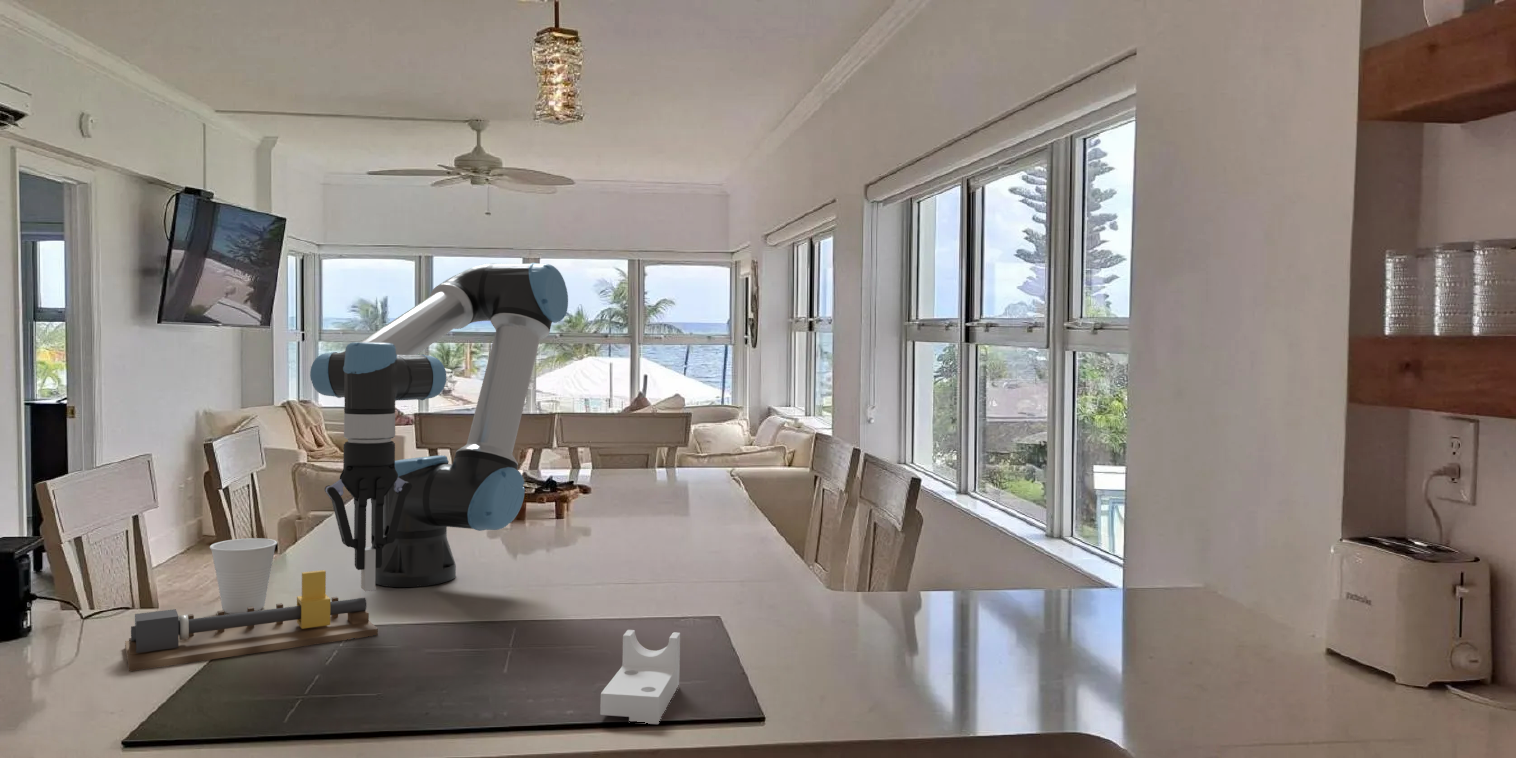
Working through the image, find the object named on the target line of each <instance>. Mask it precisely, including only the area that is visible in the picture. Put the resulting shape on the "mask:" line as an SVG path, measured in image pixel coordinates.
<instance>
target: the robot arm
mask: <svg viewBox="0 0 1516 758" xmlns="http://www.w3.org/2000/svg"><path fill="white" fill-rule="evenodd" d="M567 288H568V287H567V285H566V282H565V279H564V277H563V275H562V273H561V272H560V271H559V269H558V268H557V267H555V266H554V265H552V264H549V263H537V262H530V263H485V264H484V263H483V264H479V265H476V266H474V267H471V268H468V269H465V270H463V271H462V272H459V273H457V274H455V275H453V276H452V277H449V278H447V279H446V280H444V281H443V282H441V283H439V284H438V285H436V286H435V287H434V288H433V289H432V290H431V292H430V295H429V297H427V298H426V299H424V300H423V301H422V302H420V303H418V304H416V305H415V306H413V307H412V308H411V309H409V310H407V311H405V312H404V313H403V314H401V315H400V316H398V317H396V318H395V319H393V320H391V321H390V322H389V323H386V324H385V325H384V326H382V327H381V328H379V329H378V330H376V331H375V332H372V333H371V334H370V335H368V336H367V337H365V338H363V339H362V340H360V341H354V342H353V341H351V342H350V343H348V344H347V345H346V347H345V350H344V351H343V352H338V351H331V352H328V353H327V352H324V353H321V354H319V355H318V356H317V357H316V358H315V359H314V360H313V361H312V365H311V366H310V371H309V372H310V373H309V378H310V381H311V384H312V386H313V388H314V390H316V392H317V393H318V394H320V395H322V396H325V397H326V396H327V397H333V398H334V397H335V398H338V399H341V398H344V408H343V411H344V412H343V413H344V414H343V415H344V417H343V437H344V439H347V441H345V442H344V444H343V465H342V466H343V468H342V471H341V473H340V475H339V479H338V480H337V481H335V482H333V484H331V485H326V486H325V487H324V492H325V493H326V495H327V496H328V498H329V499H330V501H331V503H332V508H333V511H334V515H335V519H336V523H337V527H338V530H339V531H338V532H339V534H340V539H341V543H342V544H343V545H344V546H346V547H347V548H353V550H354V568H355V569H356V570H357V571H360V572H361V573H360V575H361V577H360V578H361V579H360V588H361V589H362V591H364V592H372V591H373V592H374V591H376V585H378V586H382V587H392V588H394V587H395V588H412V587H413V588H416V587H417V588H418V587H427V586H432V585H438V584H443V583H446V582H449V581H451V580H452V581H453V579H454V578H456V577H457V574H456V573H457V571H456V570H457V569H456V568H457V564H456V561H455V559H454V556H453V552H452V549H451V545H450V543H449V540H448V536H447V535H448V534H447V533H448V532H447V531H448V529H447V528H448V527H450V528H457V529H467V530H468V529H469V530H475V531H478V532H479V531H481V532H483V531H498V530H501V529H504V528H506V527H508V525H509V524H511V523H512V522H514V520H515V518H516V517H517V516H518V514H519V512H520V510H521V508H522V506H523V502H524V498H525V492H526V491H525V490H526V488H525V487H524V486H525V479H524V476H523V475H522V473H521V471H519V470H518V467H519V462H518V461H517V460H516V458H515V456H514V455H513V454H514V452H513V451H514V449H515V444H516V440H517V437H518V436H517V435H518V432H519V427H520V423H521V419H522V415H523V411H524V408H525V407H524V406H525V402H526V398H527V395H528V390H529V386H530V383H531V382H530V381H531V377H532V373H533V369H534V365H535V360H536V356H537V352H538V349H539V344H540V342H541V341H542V340H544V339H545V338H547V337H548V336H549V335H550V331H551V326H552V323H555V324H556V323H559V322H561V321H563V319H564V318H565V317H566V315H567V312H568V309H569V308H568V306H569V295H568V289H567ZM476 322H490V324H491V325H492V327H493V328H494V329H495V332H494V337H493V341H492V345H491V349H490V353H489V357H488V359H487V363H486V364H487V365H486V368H485V372H484V375H483V379H482V383H481V387H480V392H479V396H478V399H477V403H476V406H475V411H474V415H473V419H472V422H471V426H470V429H469V430H470V431H469V434H468V438H467V442H466V444H465V445H463V446H462V447H460V448H459V449H457V450H456V451H455V455H454V459H453V463H451V464H449V460H448V457H447V456H446V455H442V454H441V455H432V456H431V455H430V456H422V457H412V458H404V459H398V460H396V443H395V441H393V440H392V439H393V438H395V437H396V402H397V401H414V400H415V401H417V400H418V401H419V400H420V401H425V400H426V399H433V398H435V397H437V396H439V395H440V394H441V393H442V391H444V388H445V387H446V383H447V371H446V368H445V365H444V364H443V362H442V361H441V360H440V359H439V358H437V357H435V356H432V355H425V354H420V353H421V352H422V351H425V350H426V349H427V348H428V347H430V346H431V345H432V344H434V343H436V342H437V341H438V340H440V339H441V338H442V337H444V336H445V335H447V334H449V332H451V331H452V330H459V329H460V330H461V329H463V328H466V327H467V326H468V325H469V324H473V323H476ZM344 488H345V489H346V491H347V492H348V493H349V494H350V495H351V497H352V498H353V506H354V512H353V513H354V521H353V522H354V524H353V527H354V529H353V534H352V530H351V527H350V522H349V518H348V515H347V509H346V507H345V503H344V499H343V497H342V496H343V495H344V494H345V493H344ZM368 500H370V503H371V514H370V515H371V516H370V517H371V522H370V523H371V524H370V525H371V529H370V531H371V534H370V535H371V536H370V538H371V539H370V541H371V542H370V543H371V545H370V546H367V506H368Z"/></svg>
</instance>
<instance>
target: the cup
mask: <svg viewBox="0 0 1516 758" xmlns="http://www.w3.org/2000/svg"><path fill="white" fill-rule="evenodd" d="M277 545H278V542H277V541H276V540H275V539H271V538H263V537H261V538H260V537H259V538H257V537H251V538H249V537H248V538H237V539H228V540H223V541H218V542H214V543H212V544H211V545H210V546H209V549H210V550H211V553H212V560H213V565H214V569H215V576H216V580H217V585H218V586H217V587H218V592H219V597H220V598H219V599H220V604H221V609H222V610H224V613H225V614H228V615H229V614H237V613H245V612H247V607H254V611H261V610H263V608H264V607H265V603H266V598H267V591H268V589H269V588H268V586H269V581H270V577H271V571H272V570H271V569H272V564H273V561H274V555H275V550H276V546H277ZM222 610H221V611H222Z"/></svg>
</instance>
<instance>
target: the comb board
mask: <svg viewBox="0 0 1516 758" xmlns="http://www.w3.org/2000/svg"><path fill="white" fill-rule="evenodd" d="M334 601H339V597H338V596H332V597H331V602H334ZM275 605H276V608H275V609H277V608H284V604H283V603H282V602H280V603H276V604H275ZM253 611H254V607H247V612H253ZM369 614H370V613H369V611H368V610H367V609H366V610H365V611H359V612H351V613H343V614H336V615H330V625H326V626H318V627H311V628H304V629H302V628H301V627H300V626H299V625H298V623H297V620H290V621H282V622H274V623H267V624H259V625H251V626H244V627H236V628H228V629H221V630H213V631H205V632H198V633H190V634H189V637H188V639H183V640H180V639H179V635H178V647H177V648H170V649H163V650H155V651H148V652H141V653H136V641H131V637H130V638H128V640H125V642H124V649H125V654H126V662H127V667H128V672H134V671H142V670H147V669H148V670H149V669H155V668H162V667H168V666H169V667H170V666H176V665H181V664H183V665H184V664H189V663H190V664H191V663H197V662H202V661H203V662H204V661H211V660H217V659H222V658H230V657H238V656H244V655H250V654H257V653H265V652H273V651H279V650H286V649H291V648H299V647H307V646H313V645H319V644H320V645H321V644H327V643H333V642H340V641H347V639H348V640H352V639H351V638H355V639H362V638H367V637H368V636H369V637H374V636H373V635H376V636H379V633H378V631H379V630H378V627H377V626H376V625H374V623H372V622H371V620H370V619H369V618H370V617H369ZM187 615H188V619H195V618H194V617H195V615H194V614H193V613H189V614H187ZM220 615H225V611H224V610H217V616H220ZM369 637H368V638H369Z"/></svg>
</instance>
